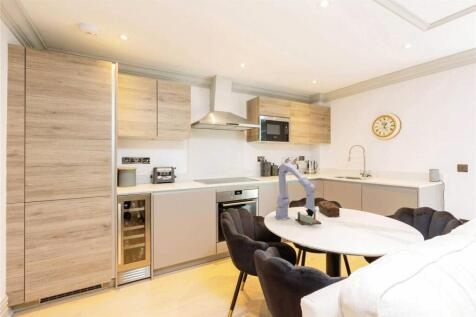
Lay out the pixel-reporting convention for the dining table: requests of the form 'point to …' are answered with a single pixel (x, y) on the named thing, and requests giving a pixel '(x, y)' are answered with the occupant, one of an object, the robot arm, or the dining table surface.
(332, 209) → the bread
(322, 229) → the dining table surface
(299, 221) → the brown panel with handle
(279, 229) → the dining table surface
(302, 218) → the gate leaf
